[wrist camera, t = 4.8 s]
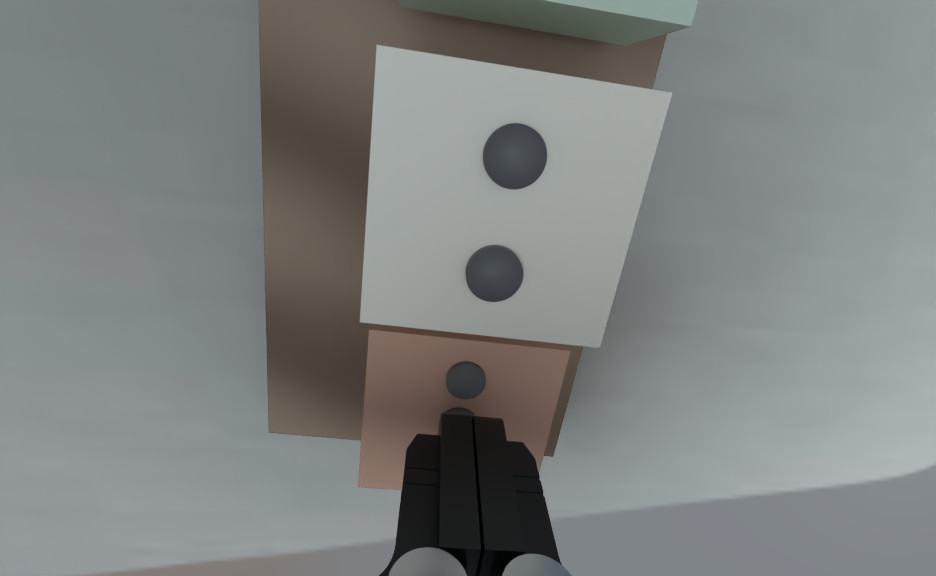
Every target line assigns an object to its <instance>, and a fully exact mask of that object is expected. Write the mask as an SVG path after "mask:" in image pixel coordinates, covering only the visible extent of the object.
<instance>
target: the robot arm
mask: <svg viewBox="0 0 936 576" xmlns="http://www.w3.org/2000/svg"><path fill="white" fill-rule="evenodd" d="M539 478H540V477H539V472H538V468H537V464H536V460H535V458H534V456H533V455H532V454H531V452H530V451H529V450H528V448H527V447H526V446H525V444H524V443H523V442H516V441H507V439H506V433H505V427H504V421H503V419H502V418H492V417H480V416H472V419H471V416H467V415H456V414H444V413H441V415H440V421H439V428H438V435H429V434H417V435H416V436H415V438H414V439H413V440H412V442H411V443H410V445H409V446H408V447H407V450H406V459H405V467H404V476H403V485H402V493H401V502H400V511H399V519H398V528H397V537H396V546H395V551H394V554H393V557H392V559H391V561H390V563H389V565H388V566H387V568H386V569H385V570H384V571H383V573H381V574H380V575H379V576H572V575H571V574H570V573H569V572H568V571H567V570H566V569H565V568H564V567H563V566H562V564H561V562H560V559H559V556H558V552H557V548H556V543H555V539H554V535H553V531H552V527H551V522H550V518H549V514H548V510H547V506H546V502H545V497H544V496H543V489H542V485H541V481H540V480H539Z"/></svg>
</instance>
